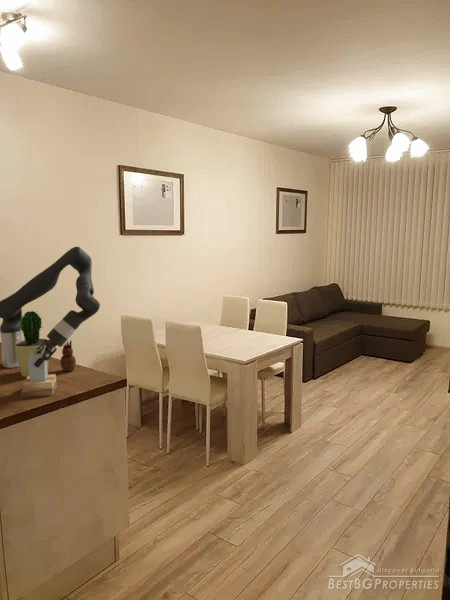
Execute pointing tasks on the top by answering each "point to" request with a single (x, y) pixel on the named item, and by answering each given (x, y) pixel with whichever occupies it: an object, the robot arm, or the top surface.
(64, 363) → the wooden figurine
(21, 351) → the potted cactus
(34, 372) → the block
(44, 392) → the tower base
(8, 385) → the top surface
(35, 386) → the tower top
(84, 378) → the top surface
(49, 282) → the robot arm
